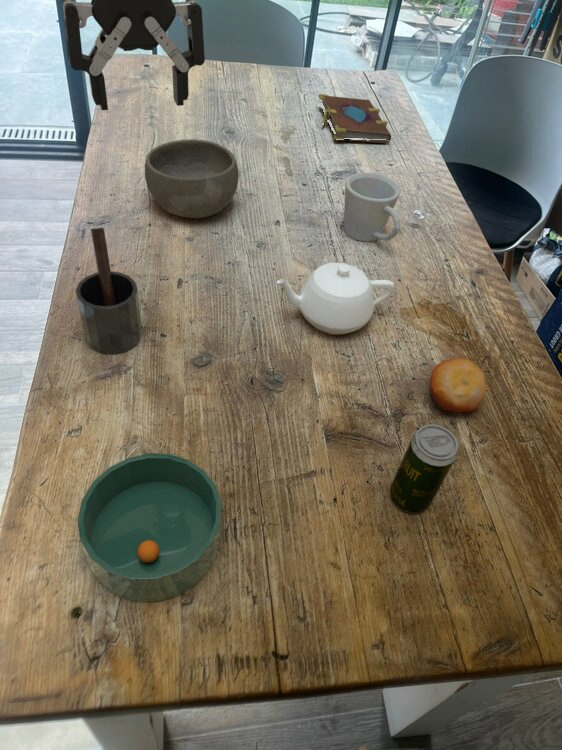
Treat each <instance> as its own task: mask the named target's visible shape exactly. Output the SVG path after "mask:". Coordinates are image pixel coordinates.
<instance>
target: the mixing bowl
mask: <svg viewBox="0 0 562 750" xmlns="http://www.w3.org/2000/svg"><path fill="white" fill-rule="evenodd" d="M76 522H77V528H78V529H77V530H78V537H79V541H80V544H81V547H82V550H83V553H84V557H85V559H86V562H87V565H88V566H89V568H90V571H91V572H92V574H93V576H94V577H95V579H96V581H98V582H99V583H100V585H101V586H102V587H104V589H106V590H107V591H109V592H110V593H112V594H113V595H115V596H117V597H120V598H121V599H124V600H129V601H132V602H138V603H155V602H162V601H166V600H169V599H173V598H175V597H177V596H180V595H181V594H184V593H185V592H187V591H189V590H190V589H192V588H193V587H195V586H196V585H197V584H198V583H199V582H200V581H201V580H202V579H203V578H204V577H205V576H206V575H207V573H208V572H209V571H210V569H211V568H212V566H213V565H214V563H215V560H216V558H217V555H218V552H219V548H220V545H221V530H222V528H221V527H222V525H221V524H222V500H221V496H220V494H219V491H218V488H217V485H216V483H214V481H213V480H212V478H211V477H210V476H209V475H208V473H207V472H206V471H205V470H204V469H203V468H201V467H200V466H198V465H197V464H195V463H193V462H192V461H191V460H189V459H188V458H184V457H180V456H176V455H173V454H170V453H144V454H140V455H136V456H131V457H127V458H125V459H124V460H121V461H119V462H117V463H116V464H114V465H111V466H110V467H108V468H107V469H106V470H105V471H103V472H102V473H101V474H100V475H99V476H98V477H96V478H95V479H94V481H92V483H91V484H90V485H89V487H88V489H87V491H86V492H85V494H84V496H83V497H82V499H81V502H80V506H79V511H78V515H77V521H76ZM148 540H150V541H154V542H155V543H156V544H157V545H158V546H159V556H158V558H157V559H156V560H155V561H153V562H151V563H144V562H142V561H141V560H140V559H139V558H138V555H137V550H138V547H139V546H140V544H141V543H143V542H144V541H148Z"/></svg>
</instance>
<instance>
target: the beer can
mask: <svg viewBox="0 0 562 750" xmlns="http://www.w3.org/2000/svg"><path fill="white" fill-rule="evenodd" d="M458 449H459V442H458V440H457V438H456V436H455V435H454V434H453V433H452V431H450V430H449V429H447V428H446V427H444V426H441V425H438V424H433V423H431V424H424V425H423V426H421V427H419V429H417V430H416V431H415V433H413V435H412V437H411V438H410V441H409V444H408V446H407V448H406V451H405V453H404V455H403V458H402V460H401V462H400V464H399V466H398V469H397V471H396V473H395V475H394V478H393V480H392V483H391V485H390V490H389V492H390V493H389V494H390V496H391V499H392V502H393V503H394V505H395V506H396V507H397V508H398V509H399V510H401V511H403V512H405V513H409V514H419V513H422V512H424V511H426V510H428V508H430V507H431V504H432V502H433V501H434V499H435V498H436V495H437V494H438V492H439V490H440V488H441V487H442V485H443V483H444V482H445V479H446V477H447V475H448V474H449V472H450V470H451V468H452V466H453V464H454V462H455V461H456V460H457V456H458V451H459V450H458Z"/></svg>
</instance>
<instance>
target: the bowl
mask: <svg viewBox="0 0 562 750" xmlns="http://www.w3.org/2000/svg"><path fill="white" fill-rule="evenodd" d="M239 176H240V175H239V168H238V163H237V160H236V157H235V155H234V153H233V152H232V151H231V150H230V149H228V148H226V147H225V146H223V145H220V144H218V143H216V142H214V141H209V140H206V139H205V140H204V139H177V140H173V141H168V142H165V143H162V144H160V145H158V146H156V147H154V148H152V149H151V150H150V151H149V152H148V153H147V155H146V157H145V162H144V178H145V183H146V187H147V189H148V191H149V194H150V195H151V196H152V197H153V199H154V200H155V202H156V203H157V204H158V205H159V206H160V207H161V208H162V209H163V210H165V211H166V212H167V213H169V214H172V215H174V216H178V217H182V218H186V219H187V218H188V219H203V218H207V217H210V216H213V215H215V214H217V213H219V212H221V211H223V210H224V209H225V207H227V206H228V205H229V203H230V202H231V201H232V199H233V197H234V196H235V194H236V192H237V188H238V185H239V179H240V177H239Z"/></svg>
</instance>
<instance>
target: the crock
mask: <svg viewBox="0 0 562 750" xmlns="http://www.w3.org/2000/svg"><path fill="white" fill-rule="evenodd" d="M111 276H112V282H113V288H114V294H115V300H116V305H112V306H104V305H103V299H102V293H101V287H100V281H99V276H98V272H94V273H92V274H90V275H87V276H86V277H84V278H83V279H82V280H81V281H79V282H78V284H77V286H76V288H75V295H76V299H77V305H78V309H79V315H80V319H81V325H82V329H83V335H84V340H85V343H86V344H87V346H88V347H89V348H90V349H91V350H93V351H95V352H96V353H99V354H103V355H120V354H123V353H127V352H129V351H131V350H132V349H134V348H135V347H137V346H138V344H139V343H140V342H141V339H142V335H143V327H142V318H141V309H140V299H139V298H140V297H139V291H138V286H137V285H138V284H137V283H136V281H135V280H134V279H133V278H132V277H131V276H130V275H127V274H125V273H122V272H120V271H113V270H111Z"/></svg>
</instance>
